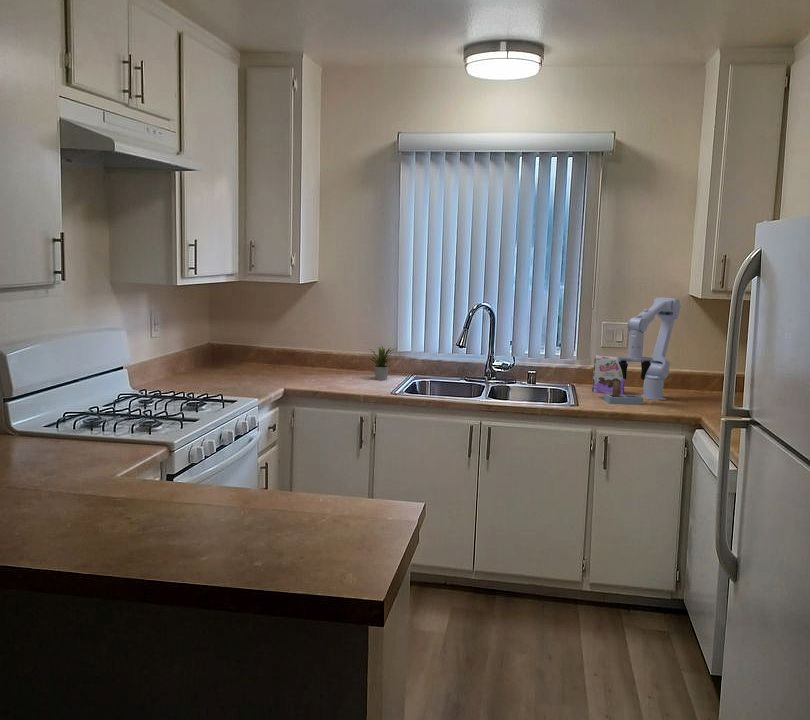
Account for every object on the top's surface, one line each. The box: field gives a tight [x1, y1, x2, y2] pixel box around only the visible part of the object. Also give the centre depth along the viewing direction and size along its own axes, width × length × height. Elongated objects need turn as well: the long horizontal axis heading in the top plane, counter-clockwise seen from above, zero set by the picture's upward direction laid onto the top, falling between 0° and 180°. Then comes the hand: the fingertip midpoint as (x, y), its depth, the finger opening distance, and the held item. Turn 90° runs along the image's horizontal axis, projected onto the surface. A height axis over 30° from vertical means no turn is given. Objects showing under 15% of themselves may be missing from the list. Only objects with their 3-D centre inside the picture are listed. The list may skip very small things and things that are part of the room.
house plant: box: [369, 345, 395, 381], centre depth 372 cm, size 14×14×16 cm
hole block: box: [603, 393, 644, 405], centre depth 336 cm, size 7×14×3 cm, turn 94°
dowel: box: [612, 381, 621, 397], centre depth 335 cm, size 3×3×9 cm
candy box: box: [591, 354, 626, 395], centre depth 358 cm, size 14×6×16 cm, turn 73°
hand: (633, 379), depth 335 cm, fingers open, 7 cm apart
